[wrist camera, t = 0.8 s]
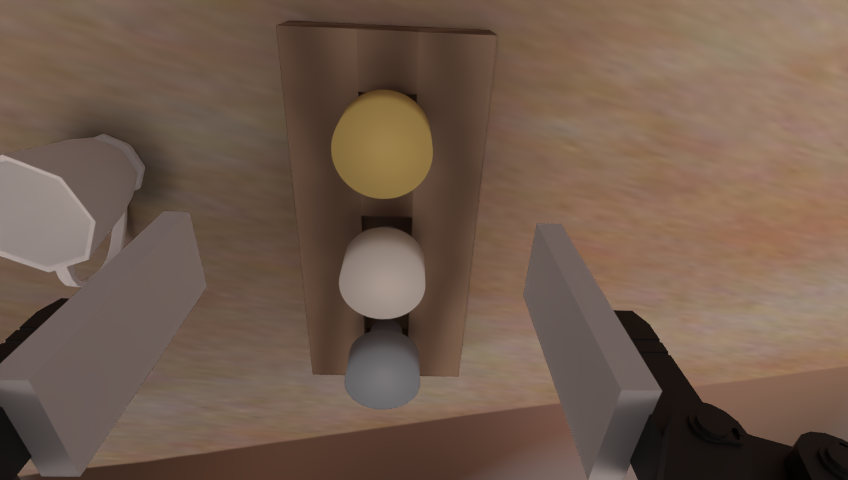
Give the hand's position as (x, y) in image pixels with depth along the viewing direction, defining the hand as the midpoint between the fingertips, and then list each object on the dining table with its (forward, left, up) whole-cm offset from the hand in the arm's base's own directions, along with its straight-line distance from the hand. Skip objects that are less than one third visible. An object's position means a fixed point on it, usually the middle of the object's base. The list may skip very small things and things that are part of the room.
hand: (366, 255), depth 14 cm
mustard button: (0, 0, -15) cm, 15 cm away
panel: (0, -8, -18) cm, 20 cm away
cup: (-19, -6, -18) cm, 27 cm away
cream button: (0, -8, -15) cm, 17 cm away
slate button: (0, -16, -15) cm, 22 cm away
